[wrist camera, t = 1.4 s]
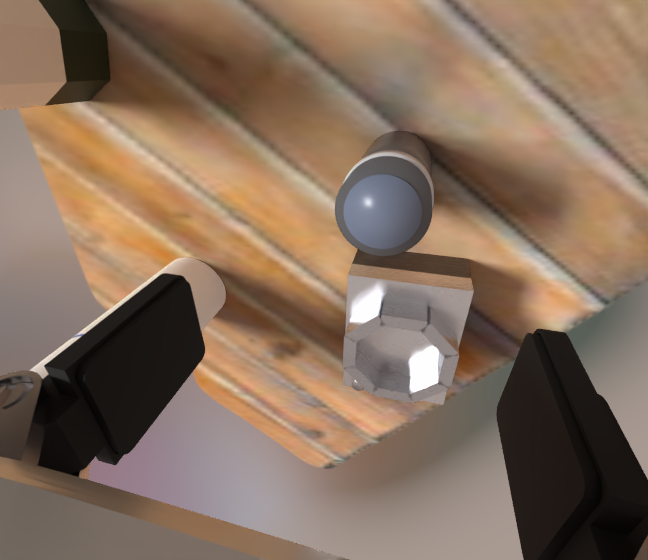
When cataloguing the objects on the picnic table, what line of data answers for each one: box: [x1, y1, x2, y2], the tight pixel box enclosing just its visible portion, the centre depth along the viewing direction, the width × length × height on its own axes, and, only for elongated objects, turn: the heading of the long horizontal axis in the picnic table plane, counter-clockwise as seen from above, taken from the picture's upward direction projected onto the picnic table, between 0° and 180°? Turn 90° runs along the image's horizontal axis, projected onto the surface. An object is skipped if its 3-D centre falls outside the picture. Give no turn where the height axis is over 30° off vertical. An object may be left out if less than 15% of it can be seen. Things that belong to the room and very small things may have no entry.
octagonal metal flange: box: [343, 249, 474, 405], centre depth 30 cm, size 12×9×7 cm
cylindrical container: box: [29, 257, 226, 379], centre depth 28 cm, size 7×7×25 cm
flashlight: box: [335, 131, 434, 256], centre depth 22 cm, size 5×5×10 cm
